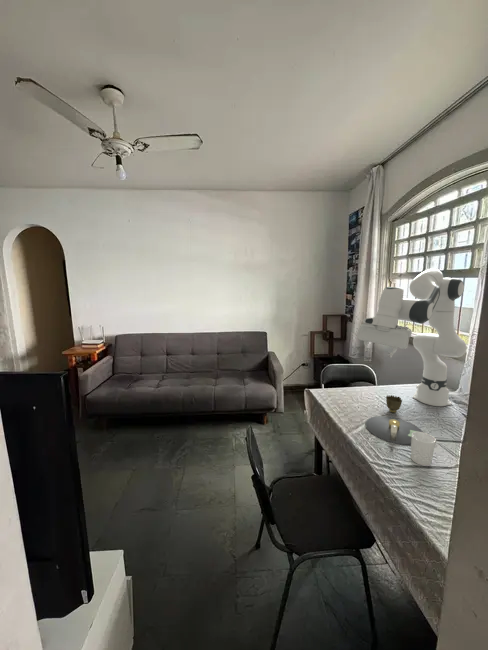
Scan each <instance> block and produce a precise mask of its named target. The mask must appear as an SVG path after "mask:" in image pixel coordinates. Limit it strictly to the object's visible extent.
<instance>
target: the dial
mask: <svg viewBox="0 0 488 650" xmlns="http://www.w3.org/2000/svg"><path fill="white" fill-rule="evenodd" d="M390 419H394V420H397V421H399V422H400V427H399V430H397V437H396V441H393V440H391V439H390V433H391V429H390V428H389V420H390ZM365 427H366V429H367V430H368V431H369V433H371V435H373V436H375V437H376V438H378V439H381V440H384V441H386V442H389V443H391V444H397V445H404V446H411V438H412V433H413V432H423V430H422V429H421V428H419V427H418V426H417V425H415V424H413V423H412V422H410V421H407V420H404V419H403V418H398V417H393V416H389V415H388V416H387V415H376V416H371V417H369V418H368V419H367V420H366V421H365Z"/></svg>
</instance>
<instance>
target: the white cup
mask: <svg viewBox="0 0 488 650" xmlns="http://www.w3.org/2000/svg"><path fill="white" fill-rule="evenodd" d="M436 442H437V439H436V437H434V436H433V435H431V434H430V433H426V432H425V431H422V432H413V433H412V438H411V445H410V458H411V459H410V460H411V461H413V462H414V463H416V464H417V465H420V466H424V467H428V466H429V467H430V466H431V464H432V461H433V457H434V454H435V453H434V452H435V448H436Z"/></svg>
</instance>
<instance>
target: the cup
mask: <svg viewBox="0 0 488 650" xmlns="http://www.w3.org/2000/svg"><path fill="white" fill-rule="evenodd" d="M385 398H386V399H385V400H386V401H385V402H386V406H387V408H388V410H389V412H390V413H392V414H396V413H397V412H398V411H399V410H400V409H401V406H402V401H403V399H402V398H401V397H400V396H397V395H395V396H394V395H392V394H391V395H386V397H385Z"/></svg>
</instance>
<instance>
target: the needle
mask: <svg viewBox="0 0 488 650" xmlns="http://www.w3.org/2000/svg"><path fill="white" fill-rule="evenodd" d="M399 427H400V422H399V421H397V420H394V419H390V420H389V428H390V429H391V433H390V439H391V440H393V441H396V437H397V430H399Z"/></svg>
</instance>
